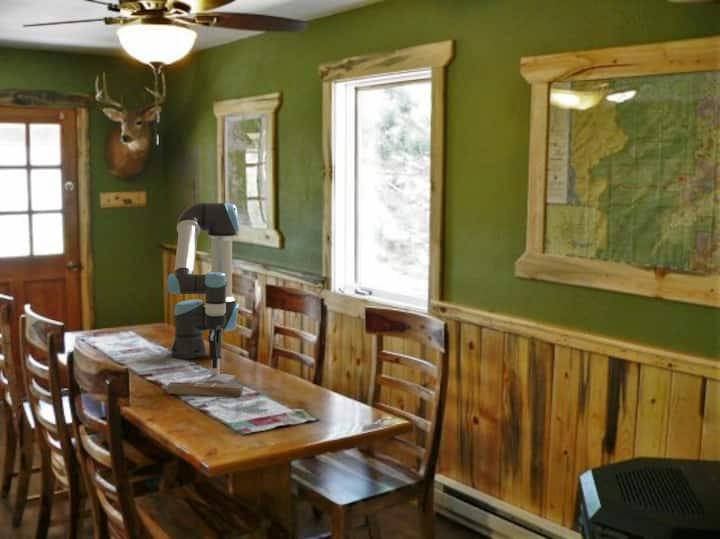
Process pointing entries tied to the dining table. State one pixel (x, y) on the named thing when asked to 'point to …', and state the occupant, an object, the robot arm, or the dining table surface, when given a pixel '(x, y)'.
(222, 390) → the tan wooden bar
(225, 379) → the stone block
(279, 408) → the dining table surface
